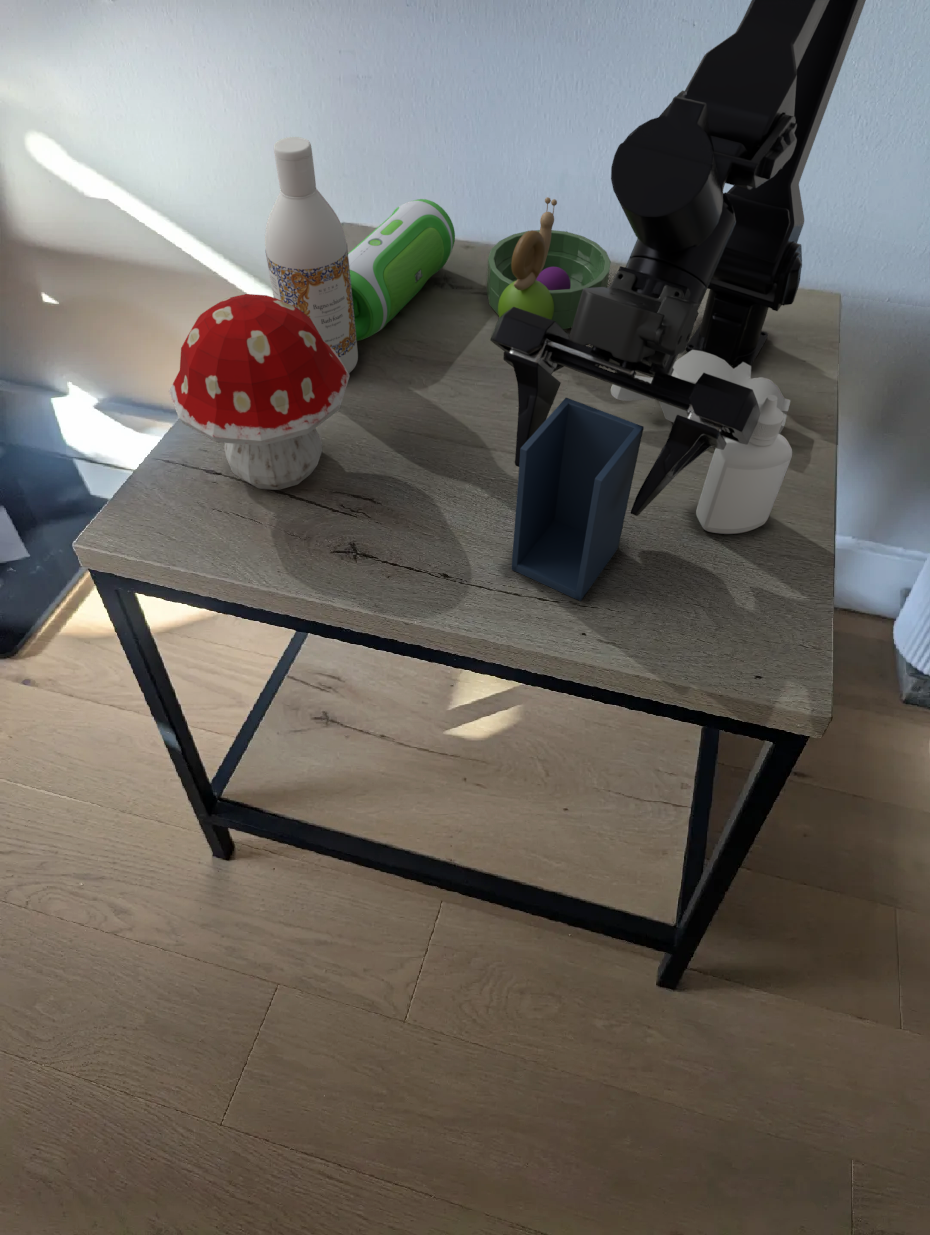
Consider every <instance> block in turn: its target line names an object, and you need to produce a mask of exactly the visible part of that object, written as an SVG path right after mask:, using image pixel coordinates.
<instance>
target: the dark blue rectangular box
mask: <svg viewBox="0 0 930 1235" xmlns="http://www.w3.org/2000/svg"><path fill="white" fill-rule="evenodd" d="M644 428H645V427H644V426H643V425H641V424H638V423H636V422H632V421H630V420H628V419H624V418H622V417H619V416H617V415H614V414H611V413H609V412H606V411H603V410H600V409H598V408H597V407H593V406H590V405H588V404H584V403H582V402H579V401H577V400H575V399H573V398H572V399H571V398H569V397H564V399H563V400H562V401H561V402H560V404H559V405H558V406H557V407H556V408H555V409H554V410H553V411H552V412H551V414H550V415H548V416H547V419H546V420H545V421H544V423H543V424H542V425H541V426H540V427H539V428H538V429H537V430H536V432H535V433H534V434H533V435H532V436H531V437H530V438H529V439H528V441H527V442H526V443H525V444H524V445H523V446H522V447H521V449H520V462H519V467H518V475H517V489H516V504H515V515H514V516H515V517H514V530H513V541H512V542H513V543H512V556H511V568H510V570H512V571H513V572H516V573H518V574H520V575H522V576H525V577H527V578H529V579H531V580H534V581H535V582H538V583H540V584H542V585H545V587H546V586H547V587H549V588H551V589H553V590H555V591H557V592H560V593H561V594H564V595H565V596H568V597H570V598H573V599H574V600H577V601H579V602H581V601H583V599H584V597H585V596H586V594H587V593H588V592H589V590H590V588H591V587H592V586H593V585H594V583H595V581H596V580H597V579H598V577H599V576H600V575H601V573H602V572H603V570H604V569H605V568H606V566H607V565H608V563H609V562H610V561H611V559H612V558H613V556H614V554H616V552H617V550H618V549H619V546H620V541H621V536H622V532H623V527H624V523H625V522H624V521H625V517H626V514H627V508H628V503H629V500H630V493H631V489H632V484H633V479H634V475H635V470H636V466H637V460H638V457H639V452H640V448H641V447H640V446H641V442H642V437H643V432H644Z"/></svg>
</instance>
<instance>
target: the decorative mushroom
mask: <svg viewBox="0 0 930 1235" xmlns="http://www.w3.org/2000/svg"><path fill="white" fill-rule="evenodd" d="M179 358H180V360H179V371H178V373H177V374H176V376H175V378H174V380H173V382H172V384H171V386H170V388H169V389H168V393H169V395H170V398H171V401H172V403H173V405H174V409H175V411H176V414H177V417H178V419H179V420H180V422H181V423H182V424H183V425H185V426H186V427H188V428H190V429H192V430H194V431H196V432H197V433H199V434H202V435H203V436H204V437H207V438H208V439H210V440H212V441H213V442H215V443H223V444H224V455H225V458H226V460H227V462H228V465H229V468H230V470H231V472H232V474H233V475H235V476H236V477H238V478H240V479H241V480H243V481H245V482H246V483H248V484H250V485H251V486H253V487H254V488H257V489H259V490H273V491H280V490H283V489H286V488H290V487H291V488H292V487H294V486H298V485H299V484H300V483H302V481H304V480H305V479H306V478H307V477H309V476H310V475H312V474H313V472H314V471H315V469H316V468H317V466H318V464H319V461H320V458H321V456H322V452H323V449H324V447H323V440H322V439H321V436H320V435H319V433H318V430H317V428H318V427H319V426H321V425H322V424H323V423H324V422H326V421H327V420H328V419H330V418H331V417H333V415H335V414H336V413H338V412H339V411H340V408H341V405H342V402H343V400H344V396H345V392H346V389H347V386H348V383H349V381H350V380H349V379H350V373H348V372H347V370H346V368H345V367H344V365H343V363H342V362H341V360H340V358H339V356H338V355H337V353H336V351H335V350H334V349H332V348H331V347H330V346H329V345H328V344H326V343H325V342H324V341H323V339H322V337H321V336H320V334H319V332H318V330H317V329H316V327H315V325H314V324H313V322H312V320H311V318H309V317H308V316H307V315H306V314H304V313H303V312H302V311H301V310H299V309H298V308H296V307H294V306H292V305H290V304H288V303H285V302H283V301H281V300H279V299H277V298H274V297H273V296H270V295H267V294H255V293H245V294H244V293H243V294H240V295H236V296H231V297H226V298H224V299H223V300H221V301H219V302H217V303H215V304H214V305H213V306H211V307H209V308H208V309H206V310H205V311H203V312H202V313H200V314H199V315H198V316H197V319H196V320H195V322H194V324H192V327H191V329H190V330H189V332H188V334H187V336H186V338H185V340H184V341H183V344H182V346H181V347H180V357H179Z"/></svg>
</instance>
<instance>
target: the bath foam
mask: <svg viewBox="0 0 930 1235" xmlns="http://www.w3.org/2000/svg"><path fill="white" fill-rule="evenodd" d="M273 154H274V159H275V165H276V172H277V179H278V185H279V193H278V195H277V197H276V200H275V202H274V204H273V205H272V208H271V211H270V212H269V215H268V219H267V222H266V225H265V232H264V233H265V234H264V247H265V250H264V251H265V257H266V263H267V268H268V274H269V279H270V286H271V291H272V297H273V298H277V299H279V300H281V301H283V302H285V303H288V304H290V305H292V306H294V307H296V308H298V309H299V310H301V311H302V312H303V313H304V314H306V315H307V316H308V317H309V318H311V320H312V322H313V324H314V325H315V327H316V329H317V330H318V332H319V334H320V336H321V337H322V339H323V341H324V342H325V343H326V344H328V345H329V346H330V347H331V348H332V349H334V350H335V351H336V353H337V355H338V356H339V358H340V360H341V362H342V363H343V365H344V367H345V368H346V370H347V372H348V373H349V374H350V373H351V372H352V371H353V370H354V369H355V368H356V366H357V364H358V361H359V351H358V341H357V340H356V328H355V318H354V308H353V298H352V288H351V278H350V268H349V258H348V253H349V249H348V243H347V238H346V237H347V236H346V234H345V230H344V227H343V225H342V222H341V220H340V218H339V216H338V215H337V213H336V212H335V210H334V208H333V207H332V206H331V205H330V203H329V202H328V201H327V200H326V199H325V197H324V196H323V195H322V193H321V192H320V191H319V190H318V189H317V182H316V181H317V180H316V173H315V164H314V157H313V148H312V143H311V142H310V141H309V140H308V139H307V138H304V137H299V136H288V137H287V136H286V137H283V138H281V139H278V140H277V141H275V143H274V144H273Z"/></svg>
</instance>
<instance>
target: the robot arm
mask: <svg viewBox="0 0 930 1235" xmlns="http://www.w3.org/2000/svg"><path fill="white" fill-rule="evenodd" d="M866 2H867V0H751V1H750V4H749V5H748V7H747V9H746V11H745V13H744V16H743V18H742V19H741V22H740V23H739V25H738V27H737V29H736V31H735V32H734V33H733V34H731V35H730V36H729V37H727V38H726V39H724V40H723V41H721V42H720V43H719V44H717V45H716V46H714V47H713V48H711V49H710V50H708V51H707V52H706V53H705V54H704V55H703V57H702V59H701V61H700V62H699V64H698V65H697V68H696V70H695V71H694V73H693V75H692V76H691V79H690V80H689V83H688V84H687V86H686V88H685V89H684V90H681V91H680V92H679V93H678V94H676V95H675V96H674V97H673V98H672V100H671V101H670V103H669V104H668V105H667V107H666V108H665V109H664V110H663V111H662V112H661V114H660V115H659V116H658V117H655V118H651V119H649V120H647V121H645V122H644V123H642V124H639V125H638V127H636V128H635V129H634V130H633V131H631V132H630V133H628V135H627V136H626V138H625V139H624V140H623V142H621V143H619V145H618V147H617V149H616V151H615V153H614V156H613V159H612V163H611V169H610V181H611V186H612V191H613V192H614V194H615V196H616V198H617V201H618V203H619V205H620V207H621V209H622V211H623V212H624V215H625V217H626V219H627V221H628V224H629V225H630V227H631V229H632V231H633V233H634V235H635V237H636V240H635V244H634V246H633V248H632V251H631V253H630V255H629V258H628V260H627V262H626V265H625V266H622V265H620V266H619V269H618V271H616V273H615V275H614V277H613V278H612V282H611V284H610V285H609V286H607V288H605V287H595V288H584V289H583V290H582V294H581V297H580V301H579V304H578V308H577V311H576V315H575V318H574V322H573V325H572V328H570V333H568V332H566V331H565V329H562V328H561V327H560V326H559V324H558V323H557V322H556V321H554V320H551V319H548V318H545V317H542V316H539V315H536V314H533V313H530V312H528V311H525V310H522V309H519V308H516V307H512V308H511V309H510V310H508V311H507V312H505V313H504V314H503V315H502V316H501V317H500V318H499V317H498V319H497V322H496V325H495V327H494V330H493V331H492V334H491V337H490V339H489V341H490V342H491V343H493V344H494V345H495V346H497V347H498V348H499V349H500V350H502V351H503V361H504V362H505V363H507V364H508V365H509V366H510V367H512V368H513V370H514V374H515V378H516V379H515V380H516V383H517V396H518V397H517V398H518V399H517V400H518V410H517V411H518V413H517V427H516V440H515V441H516V442H515V456H514V466H516V467H517V468H519V462H520V449H521V447H522V446H523V445H524V444H525V443H526V442H527V441H528V439H529V438H530V437H531V436H532V435H533V434H534V433H535V432H536V430H537V429H538V428H539V427H540V426H541V425H542V424H543V423H544V421H545V420H546V419H547V418H548V417H549V413H550V412H551V408H552V407H553V404H554V401H555V399H556V397H557V394H558V392H559V389H560V386H561V384H562V382H561V381H560V380H559V379H557V378H556V377H555V376H554V375H552V374H553V373H554V372H556V371H558V370H561V369H562V368H568V369H570V370H573V371H576V372H578V373H581V374H583V375H587V376H589V377H591V378H595V379H597V380H601V381H603V382H606V383H609V384H611V385H612V384H614V385H616V386H619V387H622V388H625V389H627V390H630V391H633V392H636V393H638V394H641V395H644V396H647V397H649V398H652V399H651V400H655V401H658V402H659V401H660V402H663V403H666V404H669V405H671V406H674V407H677V408H680V409H682V410H685V411H687V414H688V417H687V418H685V417H683V416H680V415H677V416H676V418H675V421H674V423H672V426H671V429H670V431H669V435H668V437H667V440H666V442H665V443H664V445H663V447H662V449H661V451H660V452H659V454H658V456H657V457H656V460H655V462H654V463H653V465H652V467H651V469H650V471H649V472H648V474H647V476H646V478H645V480H644V481H643V483H642V485H641V487H640V488H639V489H638V491H637V493H636V494H637V495H636V497H635V500H634V502H633V505H632V507H631V510H630V514H631V515H633V516H635V517H638V516H640V514H641V513H642V512H643V511H644V510H645V509H646V508H647V507H648V506H649V505H650V504H651V503H652V502H653V501H654V500H655V499H656V498H657V496H659V494H660V493H661V492H663V490H665V488H666V487H667V486H668V485H669V484H670V483H671V482H672V480H674V479H675V478H676V477H677V476H678V475H679V473H681V472H682V471H684V469H686V468H687V467H688V466H689V465H690V464H691V463H693V462H694V461H695V460H697V459H698V458H699V457H700V456H702V454H704V453H705V452H706V451H707V450H708V449H710V448H715V449H716V448H717V449H721V450H724V448H725V446H726V444H727V443H726V441H725V439H726V438H727V439H730V440H733V441H735V442H738V443H741V444H746V445H747V444H748V442H749V440H750V438H751V436H752V433H753V431H754V429H755V427H756V425H757V423H758V420H759V417H760V414H761V413H760V409H759V406H758V402H757V399H756V397H755V394H754V392H753V389H750V388H747V387H744V386H741V385H738V384H735V383H732V382H729V381H727V380H724V379H721V378H718V377H715V376H712V375H709V374H706V373H703V374H702V375H701V377H700V378H699V379H698V381H697V382H696V384H694V383H691V382H688V381H685V380H682V379H679V378H677V377H674V376H671V375H672V373H673V371H674V369H673V366H674V364H675V361H677V360H678V357H679V355H680V354H682V353H684V352H687V353H688V352H690V351H691V350H697V351H703V352H706V353H709V354H712V355H715V356H717V357H719V358H721V359H723V360H725V361H726V362H727V363H728V364H729V365H730V366H731V367H734V368H736V367H737V366H739V365H740V364H741V363H743V362H744V363H746V364H748V365H750V366H751V367H752V366H753V364H754V362H755V361H756V359H757V357H758V356H759V354H760V352H761V350H762V348H763V347H764V345H765V343H766V341H767V339H768V336H769V333H768V332H767V331H764V330H763V327H764V325H765V321H766V318H767V315H768V311H769V309H771V310H772V311H774V312H778V311H779V310H780V309H781V307H782V306H783V307H784V306H789V305H790V306H791V305H793V303H794V302H795V299H796V296H797V293H798V289H799V287H800V283H801V275H802V268H803V252H802V251H803V248H802V244H801V243H798V242H799V238H800V236H801V233H802V230H803V227H804V225H805V215H804V208H803V202H802V196H801V190H800V182H801V178H802V176H803V174H804V170H805V168H806V165H807V162H808V160H809V157H810V154H811V151H812V149H813V147H814V143H815V141H816V138H817V135H818V132H819V129H820V126H821V124H822V121H823V119H824V116H825V113H826V110H827V108H828V105H829V102H830V99H831V97H832V94H833V91H834V89H835V86H836V83H837V81H838V78H839V75H840V72H841V70H842V66H843V64H844V61H845V58H846V56H847V54H848V50H849V47H850V45H851V43H852V39H853V36H854V34H855V31H856V30H857V26H858V23H859V20H860V18H861V15H862V12H863V9H864V7H865V5H866ZM725 185H731V186H732V187H731V188H729V190H728V191H727V192H724V189H725ZM708 290H709V291H708ZM707 291H708V295H707V299H706V302H705V307H704V311H703V315H702V318H701V319H702V320H701V322H700V324H699V326H698V327H697V329H696V330H695V332H694V333H693V330H694V326H695V323H696V321H697V318H698V316H699V314H700V313H699V309H700V307H701V305H702V302H703V300H704V298H705V295H706V293H707ZM692 333H693V335H692ZM603 367H605V368H606V369H605V368H603ZM614 371H615V372H614ZM637 373H639V374H642V375H645V376H646V377H649V378H653V380H652V382H651V383H649V382H647V381H646V382H645V381H644V380H642V379H641V380H640V379H638V378H635V376H637Z"/></svg>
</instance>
